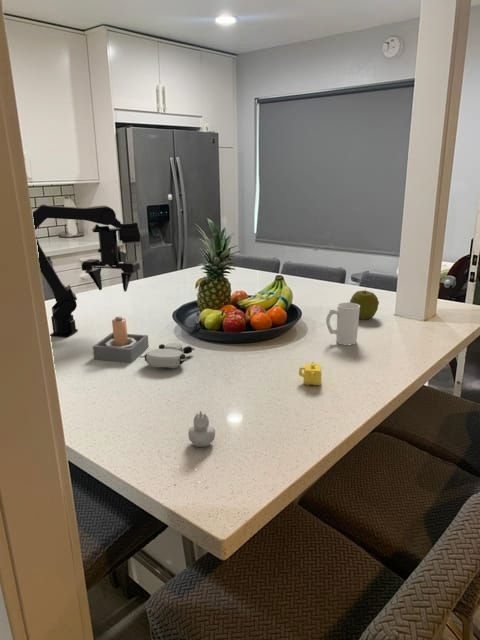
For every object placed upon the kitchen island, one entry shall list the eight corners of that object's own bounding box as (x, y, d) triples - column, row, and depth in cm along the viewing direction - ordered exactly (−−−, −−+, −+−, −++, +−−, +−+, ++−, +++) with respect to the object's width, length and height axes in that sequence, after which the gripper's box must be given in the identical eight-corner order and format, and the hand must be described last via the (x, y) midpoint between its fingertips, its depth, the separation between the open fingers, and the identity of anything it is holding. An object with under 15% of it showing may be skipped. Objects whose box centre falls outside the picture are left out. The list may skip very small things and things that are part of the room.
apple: (346, 320, 173) (348, 290, 169) (351, 312, 181) (353, 284, 178) (375, 323, 169) (378, 293, 166) (378, 315, 178) (381, 286, 174)
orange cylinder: (112, 352, 144) (109, 319, 140) (118, 346, 147) (115, 315, 144) (125, 353, 143) (122, 320, 139) (130, 347, 146) (127, 315, 143)
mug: (354, 338, 156) (357, 302, 152) (359, 345, 149) (362, 308, 146) (323, 338, 156) (325, 302, 152) (326, 345, 150) (328, 308, 146)
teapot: (299, 375, 130) (299, 357, 128) (320, 376, 129) (321, 358, 127) (298, 388, 122) (298, 369, 121) (321, 389, 121) (322, 371, 120)
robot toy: (159, 353, 147) (139, 370, 133) (158, 339, 146) (138, 355, 132) (197, 356, 145) (181, 374, 131) (197, 342, 144) (180, 358, 129)
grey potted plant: (186, 451, 96) (185, 416, 94) (191, 433, 102) (189, 400, 100) (213, 452, 96) (212, 416, 93) (216, 434, 102) (215, 400, 100)
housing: (94, 359, 141) (92, 346, 140) (113, 344, 152) (112, 332, 151) (132, 362, 138) (130, 349, 137) (148, 347, 150) (147, 335, 148)
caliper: (199, 331, 164) (198, 313, 162) (196, 331, 164) (195, 313, 162) (209, 312, 183) (209, 297, 181) (206, 312, 183) (206, 297, 181)
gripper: (144, 241, 165) (148, 286, 170) (95, 240, 169) (99, 283, 174) (130, 247, 154) (134, 294, 159) (78, 245, 158) (83, 291, 163)
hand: (113, 290), depth 164 cm, fingers open, 9 cm apart
